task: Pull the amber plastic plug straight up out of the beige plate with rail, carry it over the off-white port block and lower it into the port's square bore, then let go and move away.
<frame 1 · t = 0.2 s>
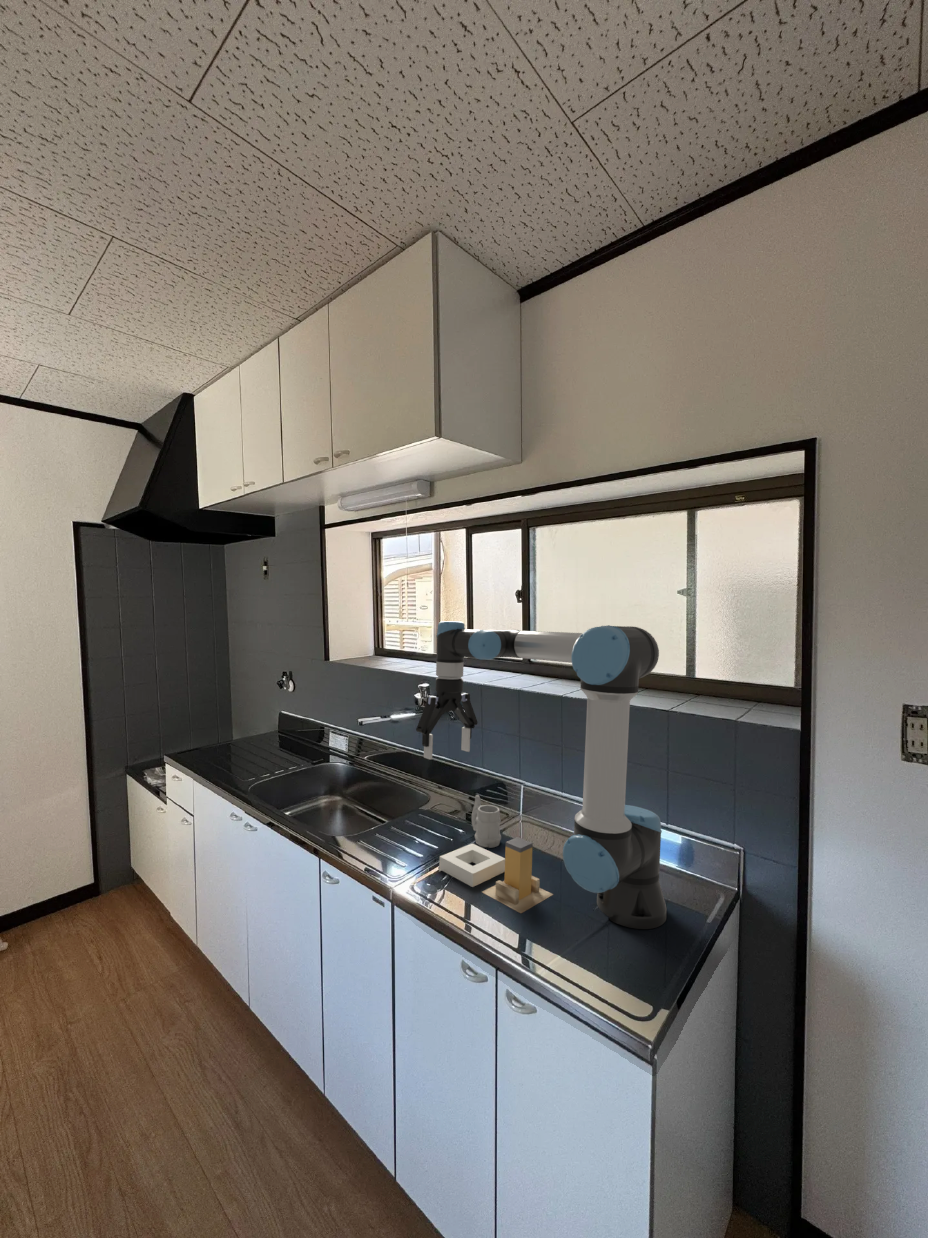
hand: (447, 754, 145), 28 cm above the counter, fingers open, 13 cm apart
plug: (517, 893, 125), point 1 cm above the counter, touching beige plate with rail
port: (472, 873, 135), on the counter
beige plate with rail: (517, 896, 125), on the counter
mug: (483, 840, 156), on the counter
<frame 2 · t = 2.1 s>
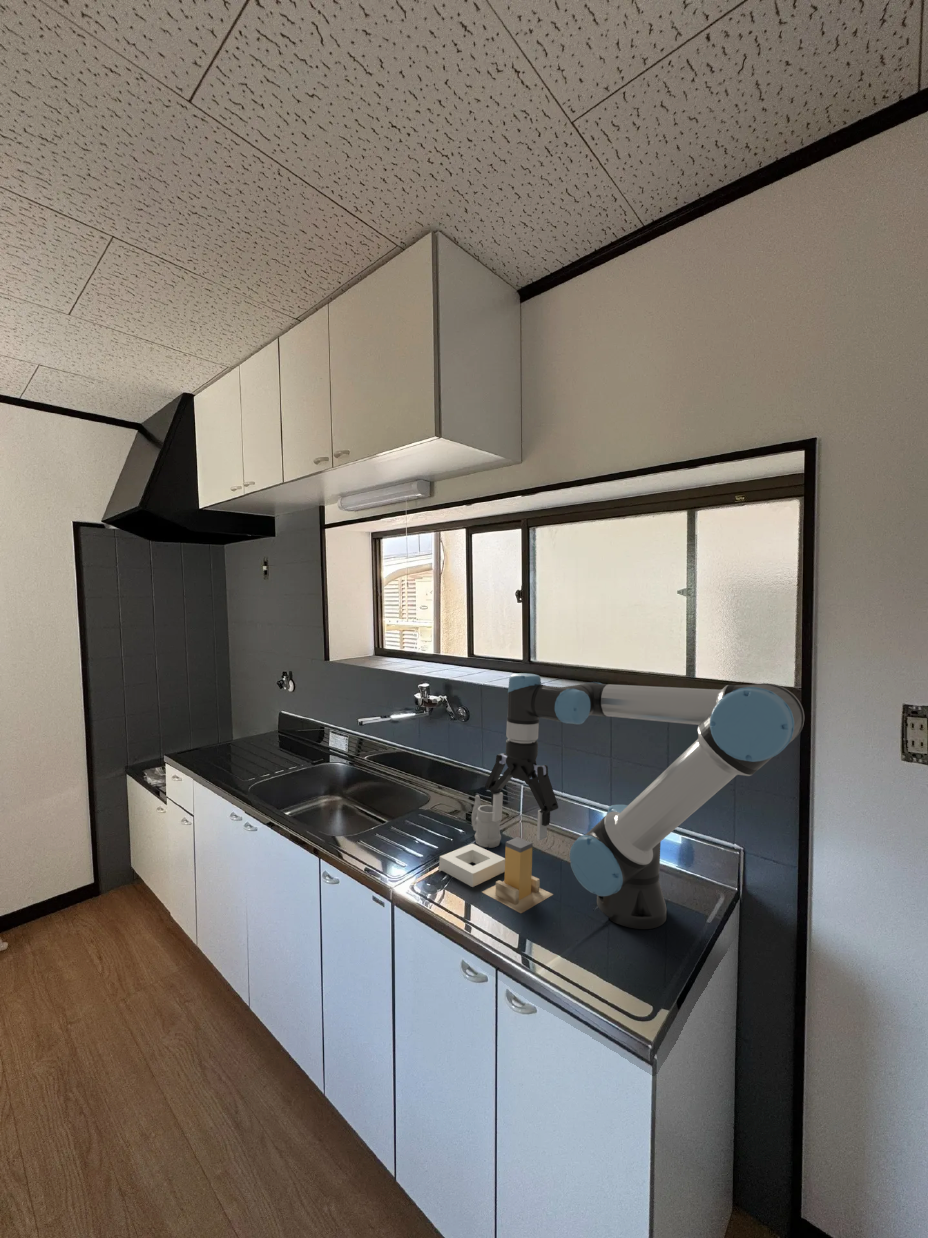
hand: (518, 829, 125), 16 cm above the counter, fingers open, 13 cm apart
nothing on the counter moved.
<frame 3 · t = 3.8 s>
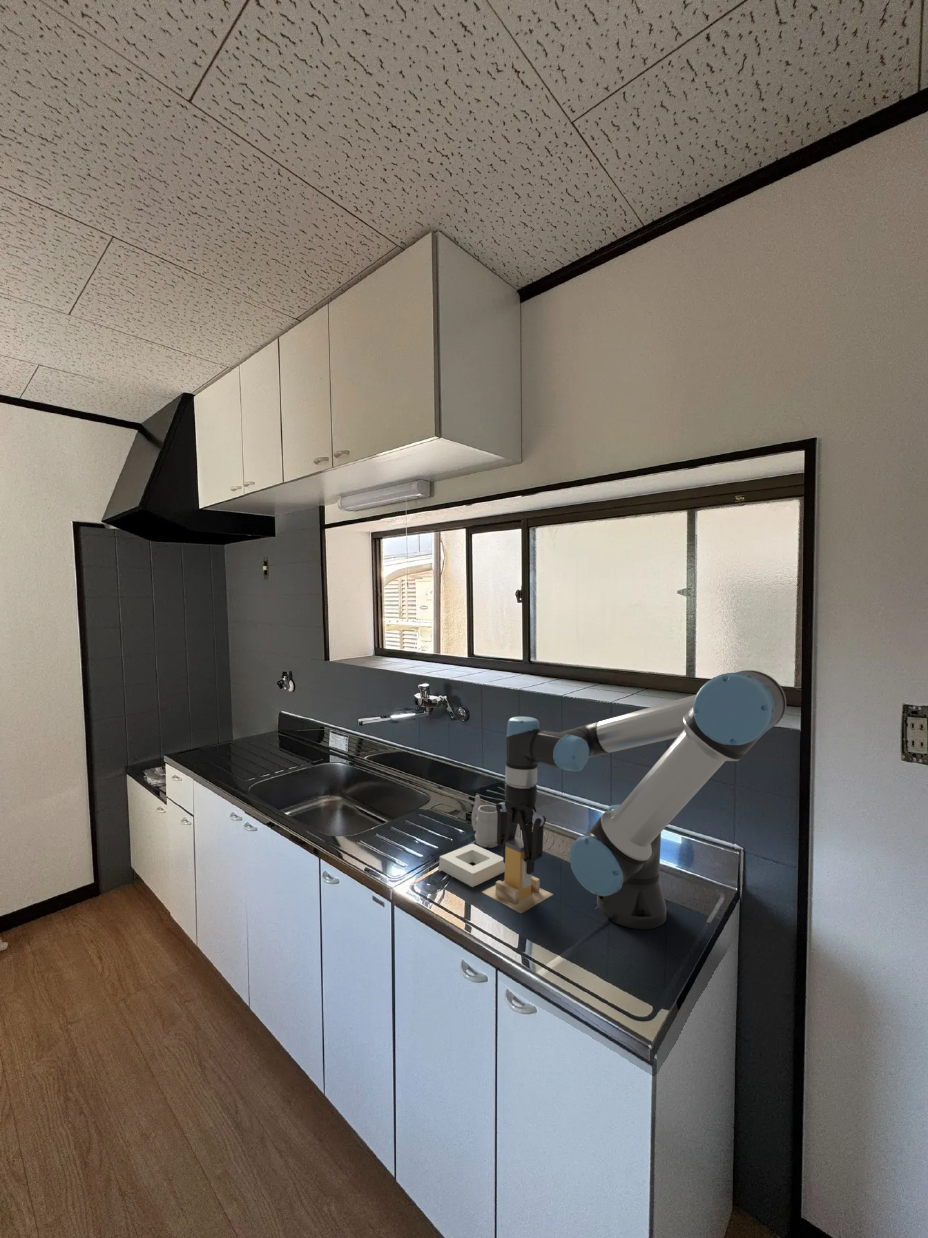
hand: (517, 881, 125), 3 cm above the counter, fingers closed on plug, 4 cm apart
plug: (517, 893, 125), point 1 cm above the counter, touching gripper, beige plate with rail
everything else where it was.
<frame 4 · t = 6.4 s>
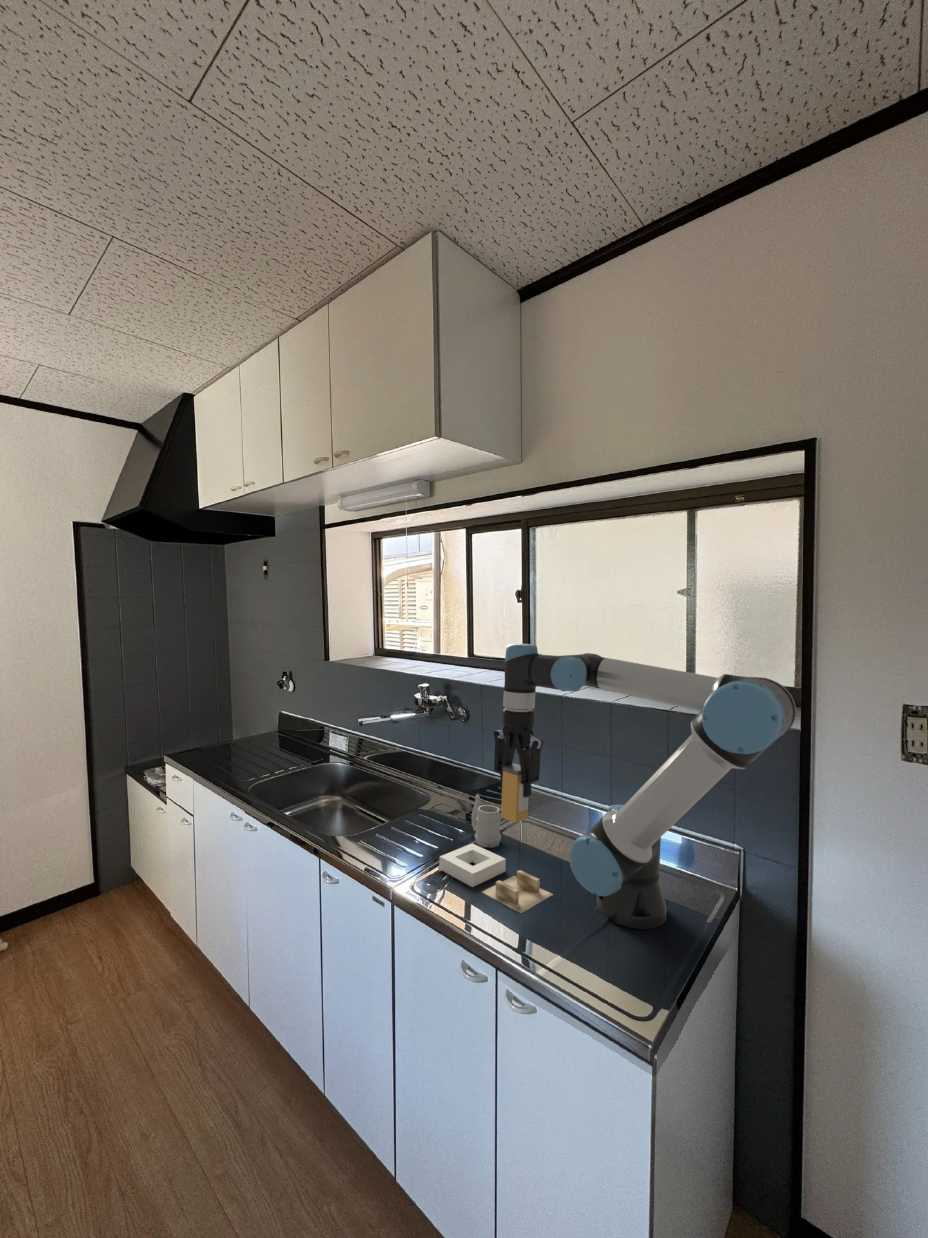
hand: (514, 806, 126), 21 cm above the counter, fingers closed on plug, 4 cm apart
plug: (514, 817, 126), point 18 cm above the counter, touching gripper
everything else where it was.
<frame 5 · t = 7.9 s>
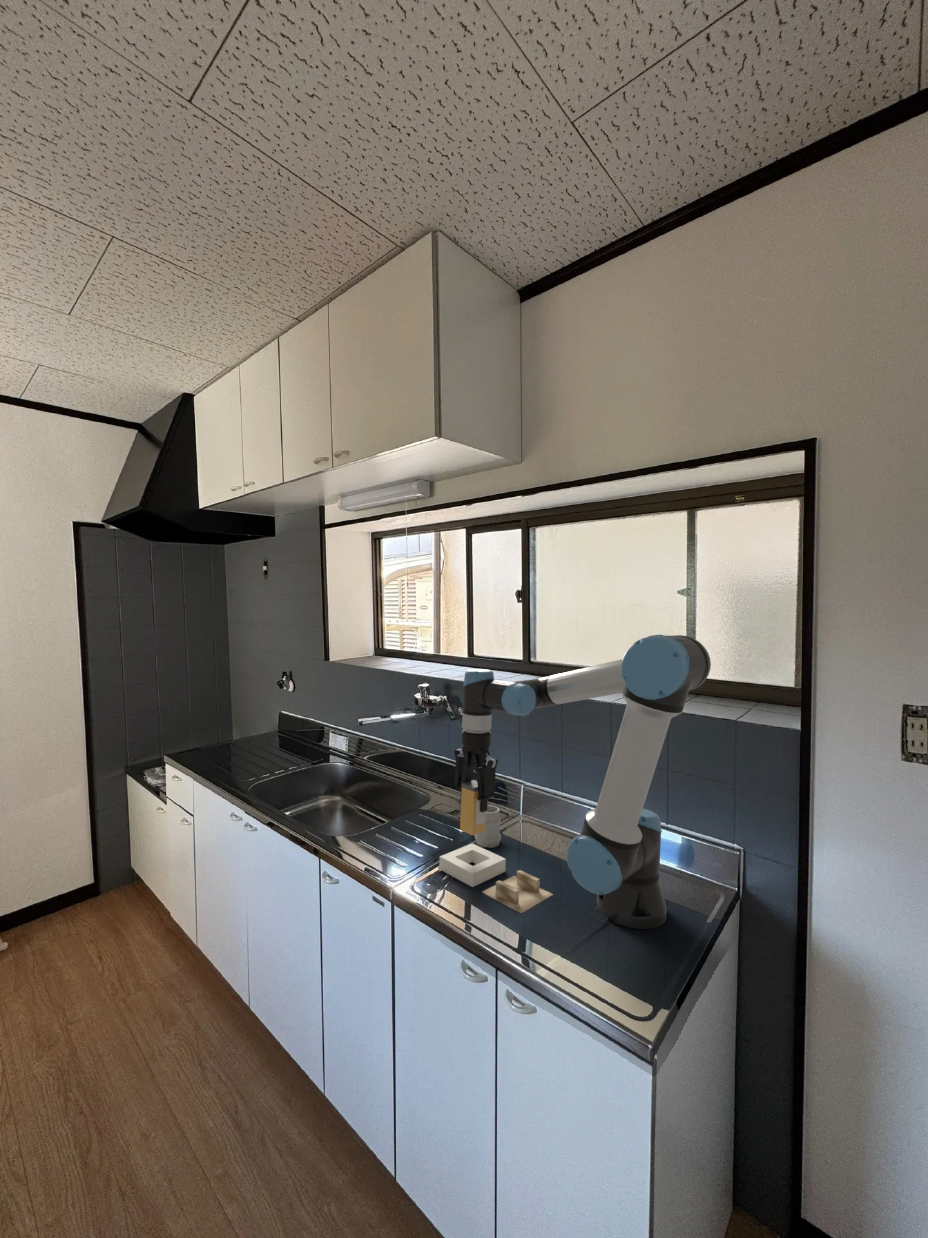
hand: (472, 820, 136), 14 cm above the counter, fingers closed on plug, 4 cm apart
plug: (472, 830, 136), point 11 cm above the counter, touching gripper
everything else where it was.
when the fingers open (6 cm above the counter, at t = 9.2 s): plug drops 3 cm, resting in port.
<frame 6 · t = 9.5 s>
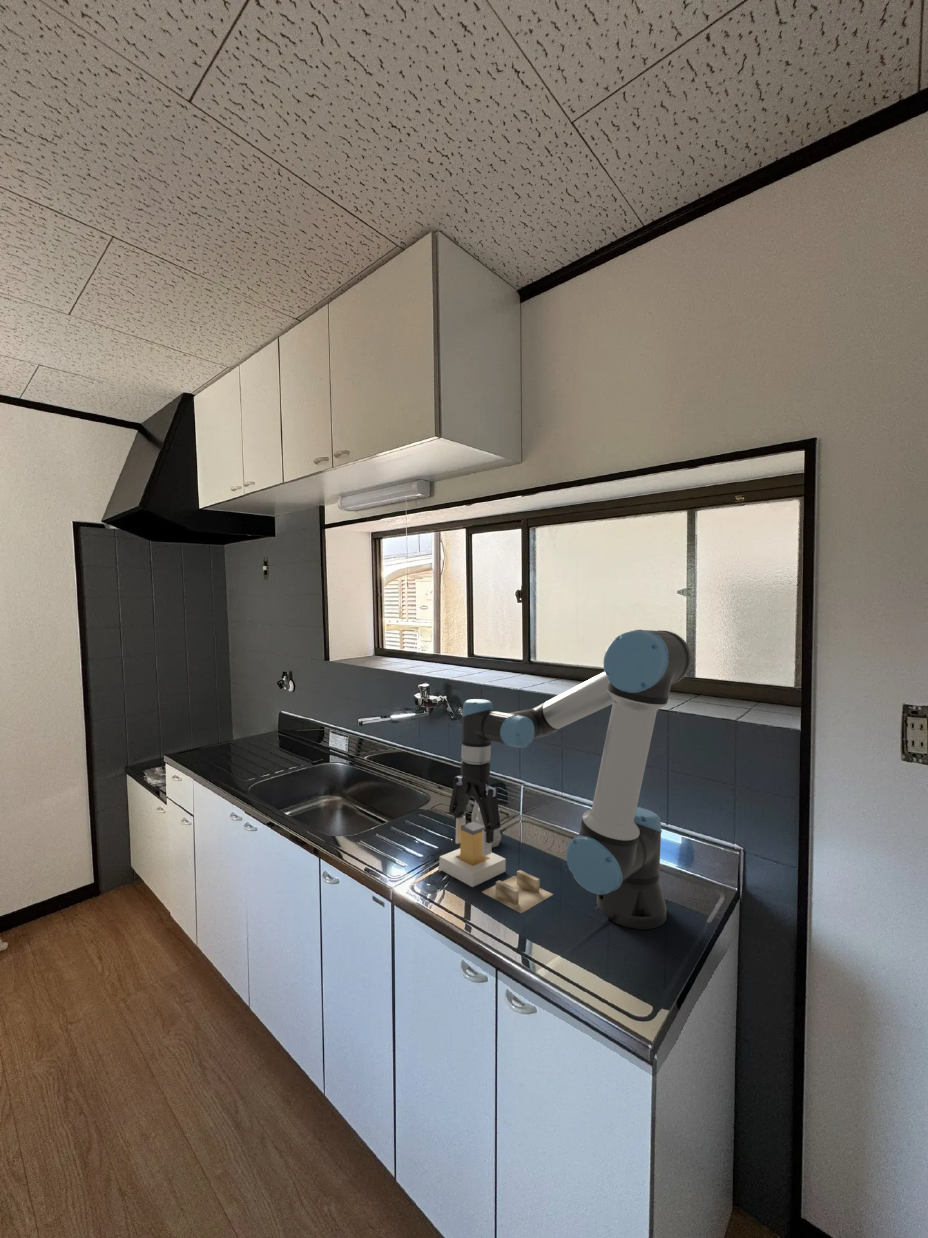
hand: (472, 848, 135), 6 cm above the counter, fingers open, 9 cm apart
plug: (472, 873, 135), resting in port
everything else where it was.
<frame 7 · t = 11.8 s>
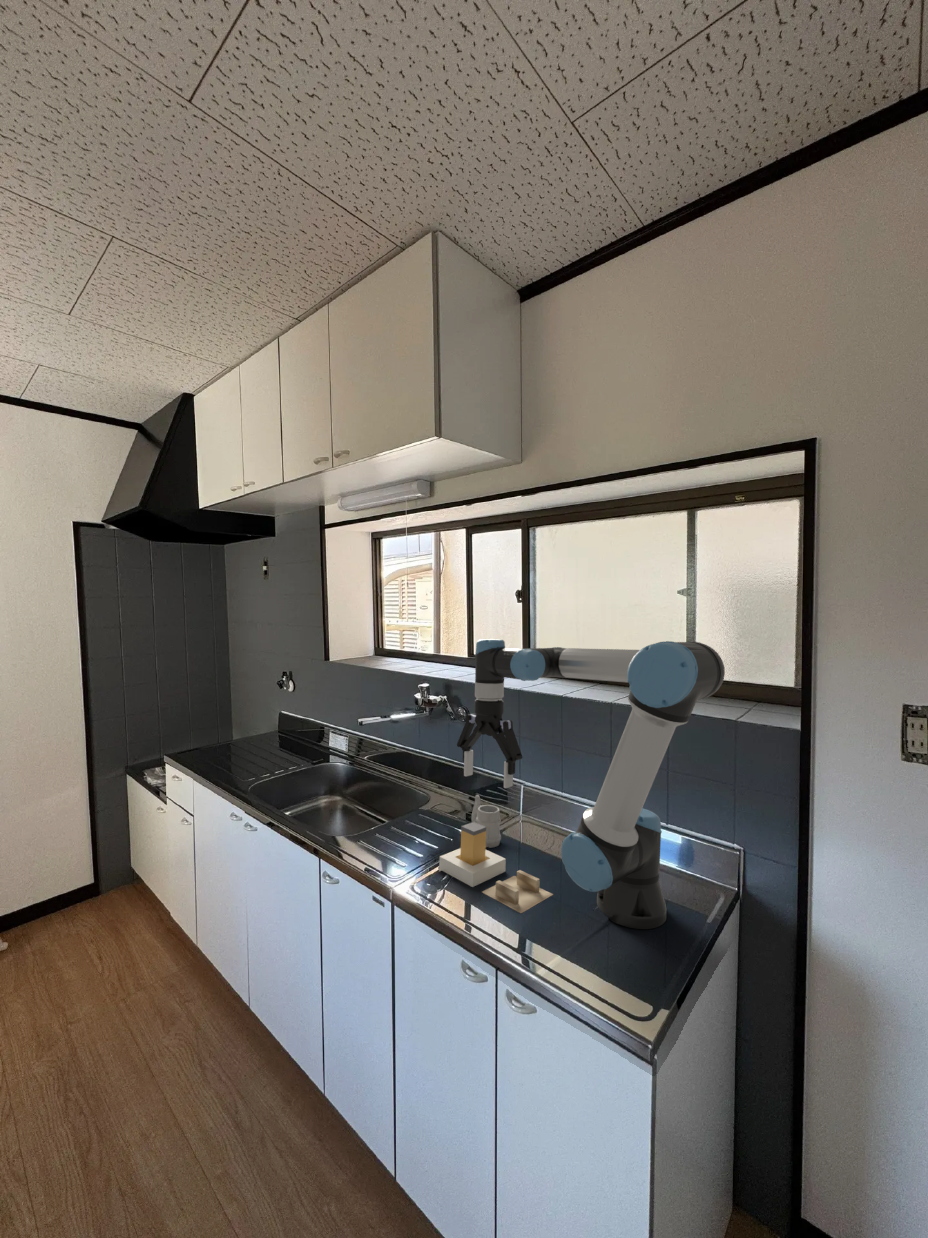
hand: (487, 781, 137), 23 cm above the counter, fingers open, 13 cm apart
nothing on the counter moved.
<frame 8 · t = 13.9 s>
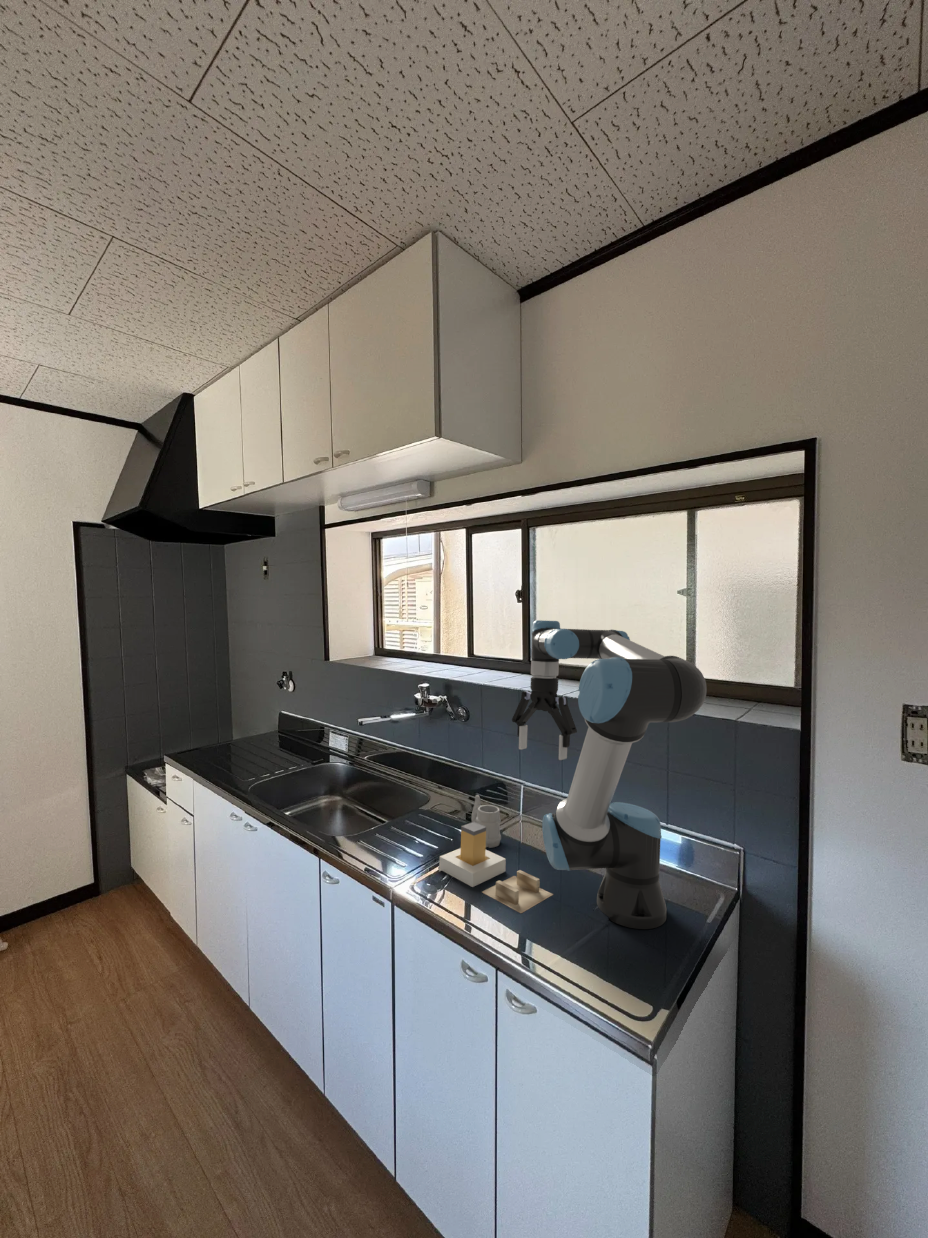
hand: (542, 753, 145), 29 cm above the counter, fingers open, 13 cm apart
nothing on the counter moved.
at the end: plug 0.1 cm off-centre on the port, point 0.0 cm above the port's base; plug tilted 0°; the gripper is holding nothing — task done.
